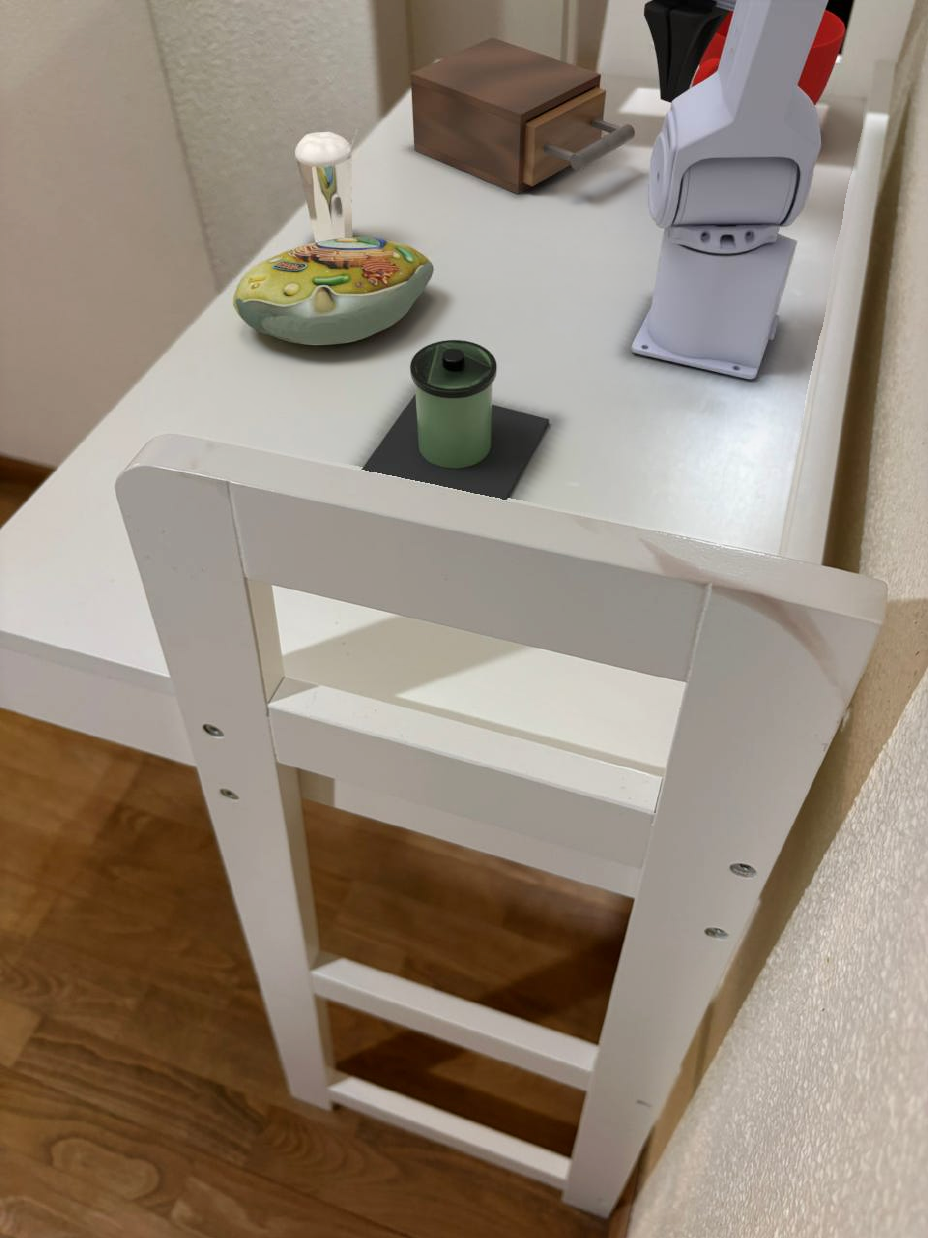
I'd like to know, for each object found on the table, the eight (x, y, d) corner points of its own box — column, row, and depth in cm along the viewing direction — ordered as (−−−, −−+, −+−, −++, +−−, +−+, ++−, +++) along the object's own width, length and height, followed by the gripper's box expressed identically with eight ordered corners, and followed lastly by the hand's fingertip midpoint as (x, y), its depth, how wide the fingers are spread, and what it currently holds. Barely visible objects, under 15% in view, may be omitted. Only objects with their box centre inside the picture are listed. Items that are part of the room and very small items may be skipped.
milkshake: (361, 261, 79) (349, 141, 71) (301, 255, 80) (283, 135, 72) (375, 234, 82) (365, 116, 74) (317, 228, 83) (301, 110, 75)
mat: (549, 423, 66) (549, 418, 65) (498, 515, 60) (498, 511, 59) (420, 390, 68) (420, 385, 68) (360, 476, 62) (359, 471, 62)
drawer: (638, 162, 88) (646, 103, 84) (570, 202, 83) (575, 142, 79) (503, 111, 95) (505, 54, 91) (434, 145, 91) (432, 87, 87)
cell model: (218, 273, 74) (378, 171, 72) (272, 353, 79) (423, 258, 78) (232, 321, 65) (413, 206, 64) (292, 406, 70) (461, 301, 69)
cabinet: (593, 151, 92) (601, 73, 86) (517, 194, 86) (521, 114, 81) (490, 112, 97) (492, 36, 92) (414, 150, 92) (410, 72, 87)
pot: (506, 430, 64) (509, 339, 59) (476, 480, 61) (477, 389, 56) (434, 411, 66) (430, 321, 60) (401, 459, 63) (394, 368, 57)
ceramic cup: (632, 143, 93) (647, 31, 85) (737, 95, 100) (760, -13, 92) (736, 189, 87) (762, 73, 79) (840, 134, 93) (874, 23, 86)
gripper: (823, -97, 65) (774, 106, 76) (654, -133, 72) (631, 60, 82) (771, -74, 62) (728, 135, 73) (599, -113, 68) (582, 84, 79)
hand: (673, 97), depth 77 cm, fingers closed
